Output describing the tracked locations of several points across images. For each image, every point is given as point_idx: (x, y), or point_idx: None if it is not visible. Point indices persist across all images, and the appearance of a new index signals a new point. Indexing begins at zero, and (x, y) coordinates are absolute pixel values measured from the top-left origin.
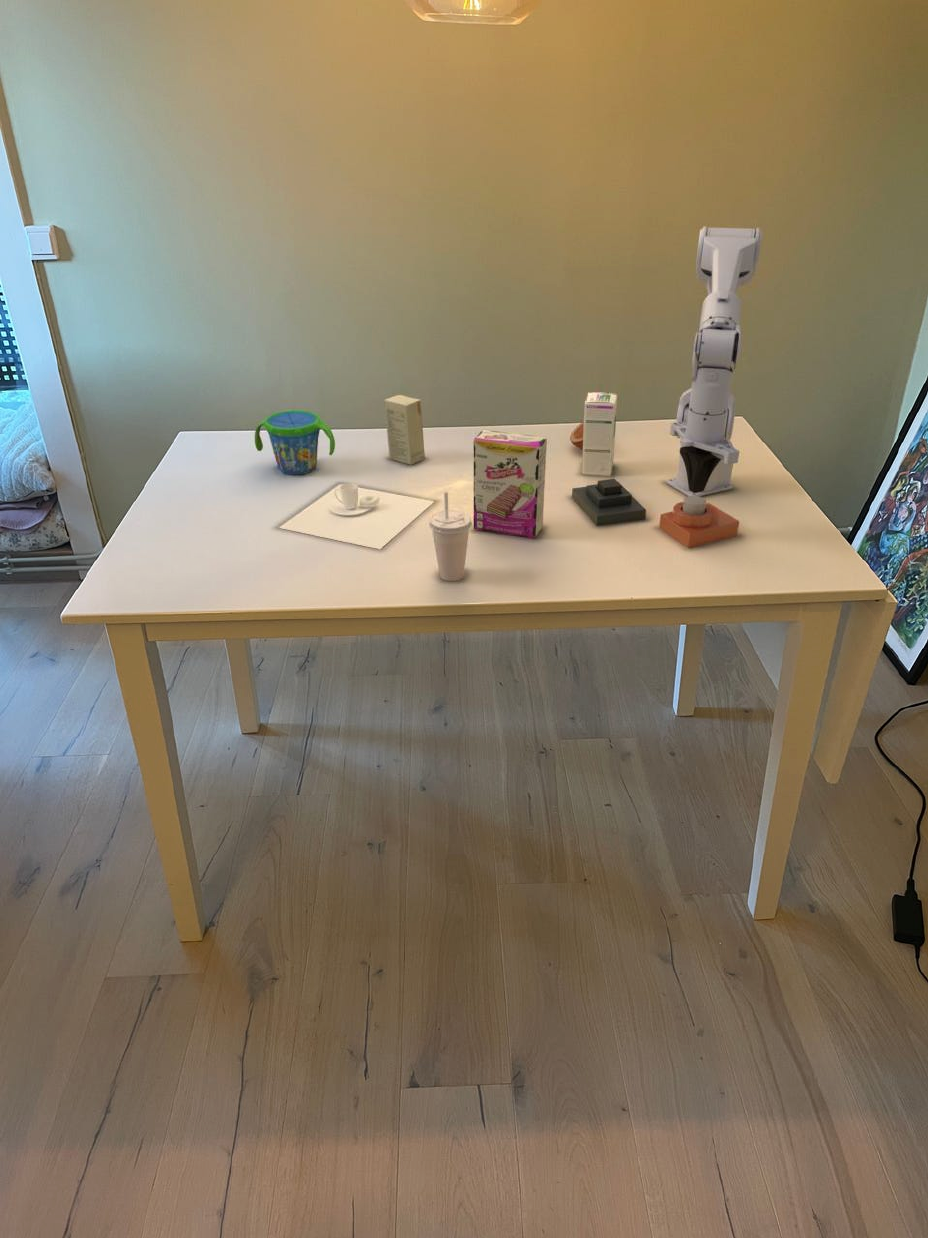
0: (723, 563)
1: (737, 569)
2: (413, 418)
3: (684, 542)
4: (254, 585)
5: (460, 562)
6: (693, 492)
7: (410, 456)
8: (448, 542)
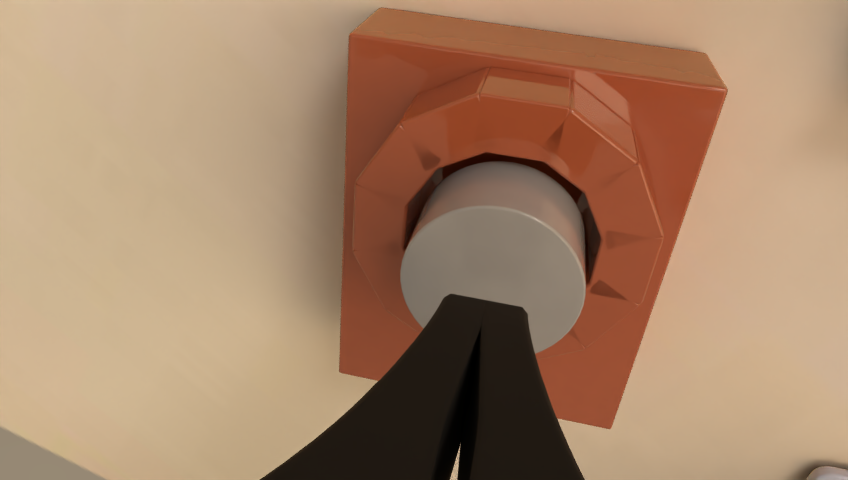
0: (149, 47)
1: (72, 59)
2: None
3: (415, 18)
4: None
5: None
6: (453, 295)
7: None
8: None
